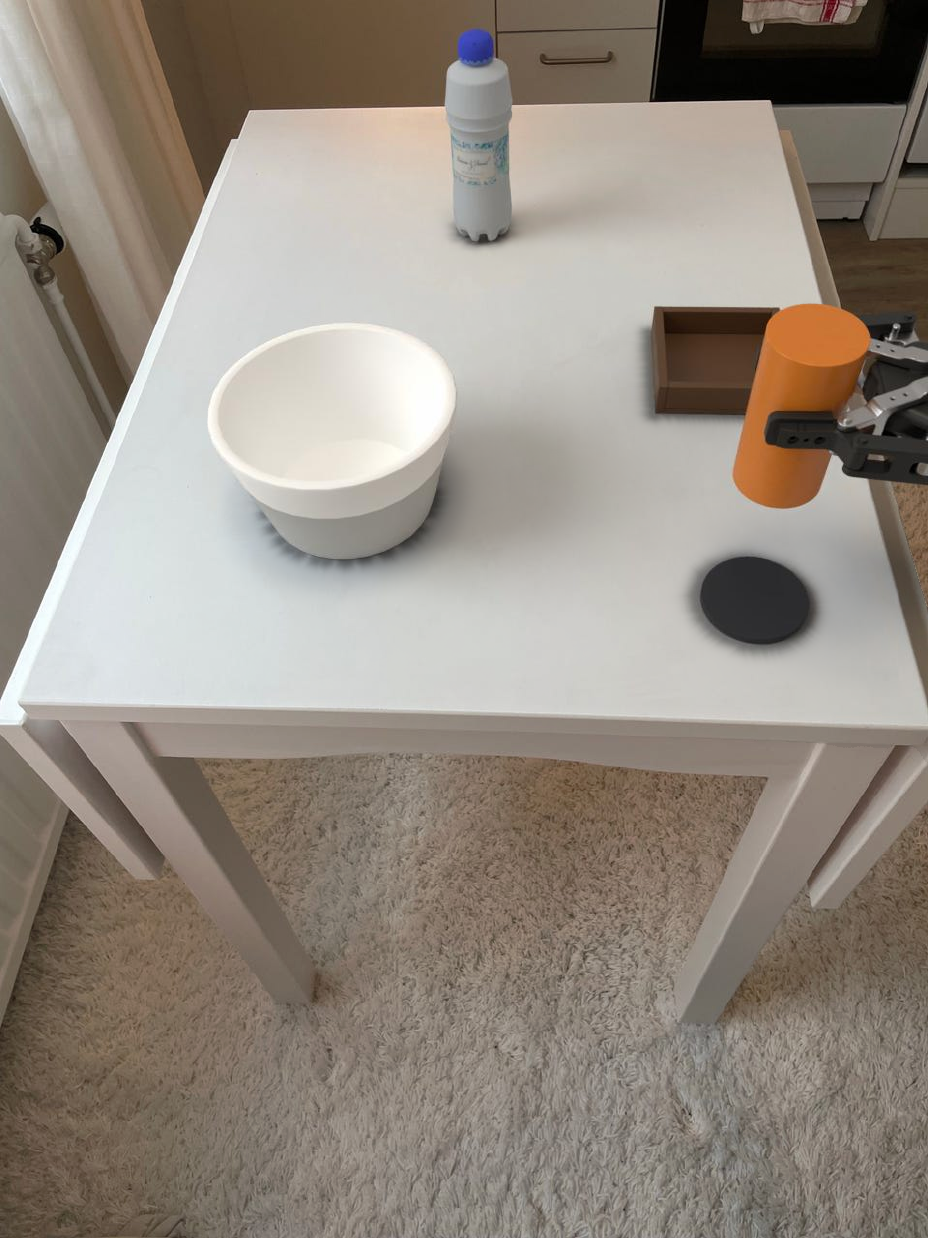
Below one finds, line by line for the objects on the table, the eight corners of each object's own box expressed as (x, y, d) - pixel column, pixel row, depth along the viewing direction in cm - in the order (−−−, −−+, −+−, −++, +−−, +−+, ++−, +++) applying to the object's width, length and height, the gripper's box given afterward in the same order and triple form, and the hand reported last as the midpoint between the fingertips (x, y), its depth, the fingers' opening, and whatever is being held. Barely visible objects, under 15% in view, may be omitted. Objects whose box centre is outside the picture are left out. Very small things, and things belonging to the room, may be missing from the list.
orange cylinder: (829, 460, 67) (879, 315, 57) (810, 518, 64) (859, 376, 54) (744, 438, 69) (779, 294, 59) (722, 494, 66) (754, 352, 56)
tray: (773, 333, 92) (779, 306, 89) (787, 415, 85) (794, 388, 82) (650, 332, 93) (654, 305, 90) (655, 412, 86) (659, 386, 83)
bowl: (298, 403, 89) (274, 304, 80) (494, 444, 84) (490, 343, 76) (198, 553, 78) (159, 458, 70) (416, 609, 74) (402, 514, 65)
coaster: (817, 579, 74) (819, 574, 73) (793, 658, 70) (795, 653, 69) (716, 549, 76) (717, 544, 76) (686, 624, 72) (687, 619, 71)
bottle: (443, 241, 104) (428, 42, 88) (466, 208, 107) (456, 12, 91) (501, 252, 102) (496, 51, 86) (522, 218, 106) (522, 20, 89)
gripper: (1033, 272, 60) (761, 273, 62) (1105, 429, 52) (787, 425, 53) (987, 368, 66) (740, 366, 68) (1044, 522, 58) (761, 516, 59)
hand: (762, 392), depth 60 cm, fingers closed on orange cylinder, 6 cm apart
